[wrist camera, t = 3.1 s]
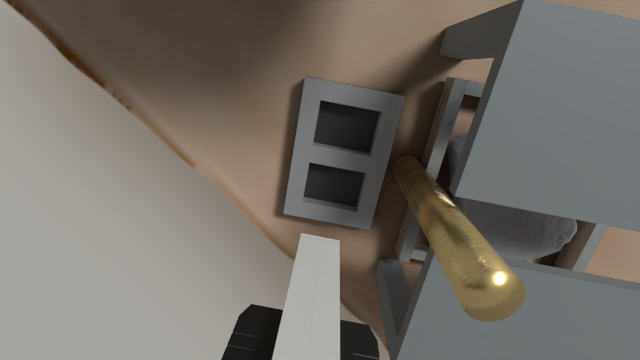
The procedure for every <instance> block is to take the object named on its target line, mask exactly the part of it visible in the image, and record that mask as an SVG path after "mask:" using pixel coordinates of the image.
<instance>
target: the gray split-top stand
mask: <svg viewBox="0 0 640 360" xmlns="http://www.w3.org/2000/svg"><path fill="white" fill-rule="evenodd" d="M439 55H442V56H447V57H452V58H457V59H462V60H467V59H482V58H494V60H493V63H492V66H491V69H490V72H489V75H488V78H487V81H486V83H485V86H484V89H483V92H482V95H481V98H480V101H479V104H478V107H477V109H476V112H475V115H474V118H473V121H472V124H471V127H470V130H469V133H468V136H467V138H466V141H465V144H464V147H463V150H462V153H461V156H460V159H459V162H458V165H457V167H456V170H455V173H454V176H453V179H452V182H451V185H450V188H449V190H450V191H451V193H452V194H453V195H454V196H456V197H462V198H467V199H472V200H477V201H482V202H488V203H493V204H498V205H503V206H508V207H513V208H519V209H524V210H529V211H534V212H539V213H545V214H550V215H555V216H560V217H565V218H571V219H576V220H581V221H586V222H591V223H597V224H602V225H607V226H612V227H617V228H623V229H628V230H633V231H638V232H640V20H637V19H632V18H627V17H622V16H617V15H612V14H607V13H602V12H596V11H591V10H586V9H581V8H576V7H571V6H566V5H561V4H556V3H551V2H546V1H541V0H517V1H515V2H512V3H509V4H507V5H504V6H502V7H499V8H496V9H494V10H491V11H488V12H486V13H483V14H480V15H478V16H475V17H473V18H470V19H467V20H465V21H462V22H459V23H457V24H454V25H452V26H449V27H447V28H446V31H445V35H444V38H443V42H442V45H441V49H440V52H439ZM501 258H502V259H503V260H504V262H505V263H506V264H507V265H508V266H509V267H510V269H511V270H512V271H513V272H514V273H515V274H516V276H517V277H518V278H519V279H520V280H521V282H522V283H523V285H524V288H525V299H524V302H523V304H522V305H521V307H520V308H519V309H518V310H517V311H516V312H515V313H514V314H513V315H511V316H509V317H507V318H505V319H503V320H499V321H494V322H484V321H479V320H476V319H474V318H472V317H470V316H469V315H468V314H466V312H465V311H464V310H463V308H462V306H461V304H460V302H459V300H458V298H457V296H456V294H455V292H454V290H453V288H452V287H451V285H450V283H449V281H448V279H447V277H446V275H445V273H444V271H443V269H442V267H441V265H440V263H439V261H438V259H437V257H436V255H435V253H434V251H433V249H432V248H431V246H429V248H428V251H427V254H426V257H425V260H424V263H423V266H422V269H421V272H420V275H419V277H418V280H417V283H416V286H415V289H414V292H413V295H412V298H411V295H410V292H409V289H408V286H407V283H406V279H405V276H404V273H403V270H402V267H401V263H400V261H395V260H389V259H384V258H380V260H379V263H378V267H377V270H376V274H375V276H376V282H377V287H378V293H379V299H380V305H381V310H382V316H383V322H384V328H385V333H386V339H387V345H388V351H389V356H390V360H640V283H635V282H630V281H624V280H619V279H614V278H609V277H603V276H598V275H593V274H588V273H583V272H577V271H572V270H567V269H562V268H556V267H551V266H546V265H541V264H536V263H530V262H525V261H520V260H515V259H509V258H504V257H501Z"/></svg>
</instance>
